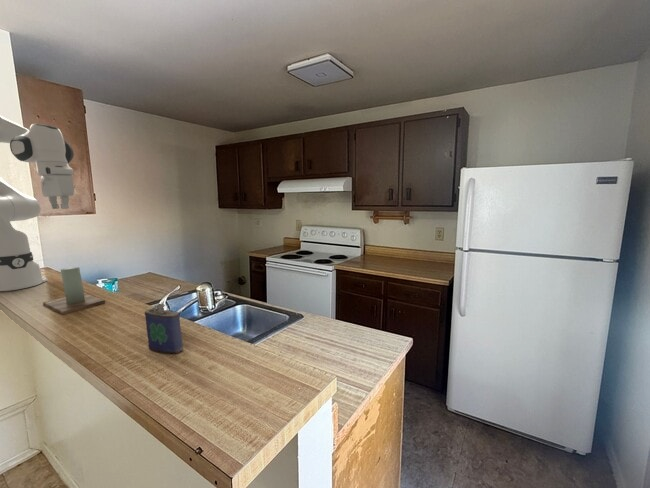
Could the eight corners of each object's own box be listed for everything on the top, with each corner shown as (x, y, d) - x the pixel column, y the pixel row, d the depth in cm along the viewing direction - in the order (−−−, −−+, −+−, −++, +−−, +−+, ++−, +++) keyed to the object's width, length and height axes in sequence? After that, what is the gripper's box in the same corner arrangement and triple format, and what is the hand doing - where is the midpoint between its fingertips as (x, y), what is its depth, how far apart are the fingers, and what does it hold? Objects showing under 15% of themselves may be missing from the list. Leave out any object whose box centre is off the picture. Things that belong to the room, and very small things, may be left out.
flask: (186, 349, 74) (180, 304, 72) (175, 356, 71) (169, 309, 69) (155, 343, 78) (149, 300, 76) (144, 350, 75) (137, 304, 73)
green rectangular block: (64, 303, 107) (58, 269, 105) (81, 298, 111) (76, 266, 109) (69, 305, 104) (63, 270, 102) (87, 300, 108) (81, 267, 107)
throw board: (43, 305, 109) (42, 301, 109) (83, 294, 119) (83, 292, 119) (62, 314, 99) (62, 311, 99) (104, 302, 109) (104, 299, 109)
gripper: (32, 172, 116) (39, 209, 118) (52, 168, 105) (59, 209, 107) (54, 172, 121) (60, 208, 123) (75, 169, 110) (81, 208, 112)
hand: (60, 208), depth 115 cm, fingers open, 8 cm apart
